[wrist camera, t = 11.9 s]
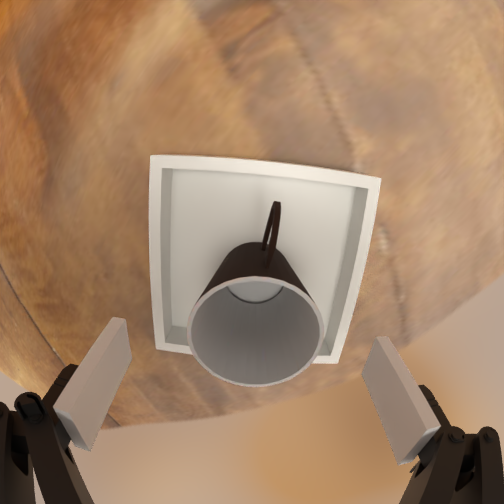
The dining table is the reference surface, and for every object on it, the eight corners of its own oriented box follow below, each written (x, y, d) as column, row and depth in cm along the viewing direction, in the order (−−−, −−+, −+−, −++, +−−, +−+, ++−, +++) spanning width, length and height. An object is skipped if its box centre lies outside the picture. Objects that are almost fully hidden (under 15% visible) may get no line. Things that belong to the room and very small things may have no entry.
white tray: (166, 327, 31) (156, 349, 27) (165, 154, 25) (150, 155, 21) (329, 340, 31) (337, 363, 27) (364, 173, 25) (381, 178, 21)
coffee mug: (265, 329, 29) (268, 402, 20) (191, 284, 28) (164, 348, 18) (340, 238, 26) (383, 287, 17) (263, 181, 24) (270, 201, 15)
